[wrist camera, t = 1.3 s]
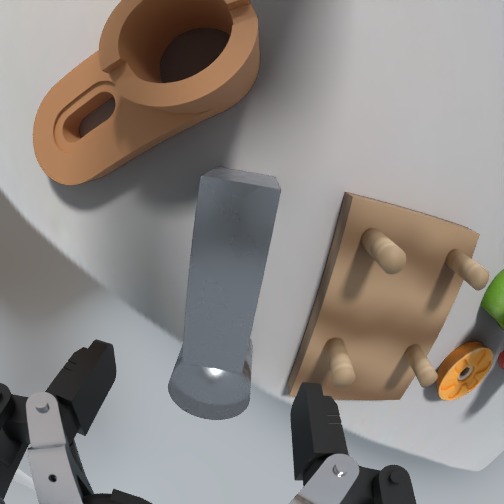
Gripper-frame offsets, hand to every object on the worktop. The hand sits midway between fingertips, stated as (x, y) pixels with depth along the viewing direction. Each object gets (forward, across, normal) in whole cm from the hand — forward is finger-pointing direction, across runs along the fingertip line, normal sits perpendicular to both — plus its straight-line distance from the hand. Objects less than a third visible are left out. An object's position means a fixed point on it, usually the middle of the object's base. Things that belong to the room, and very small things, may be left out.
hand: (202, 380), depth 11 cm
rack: (+12, -13, +2) cm, 18 cm away
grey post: (+12, 0, 0) cm, 12 cm away
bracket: (+12, +9, -12) cm, 19 cm away
